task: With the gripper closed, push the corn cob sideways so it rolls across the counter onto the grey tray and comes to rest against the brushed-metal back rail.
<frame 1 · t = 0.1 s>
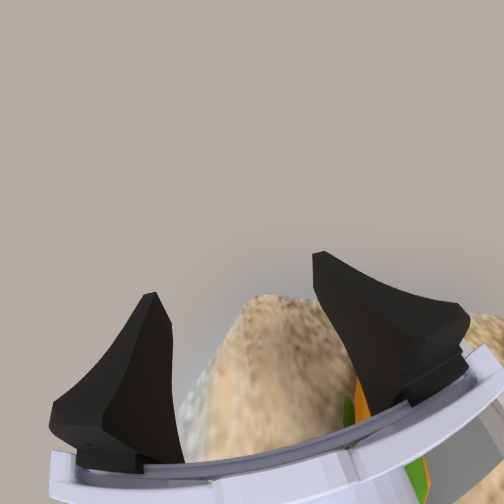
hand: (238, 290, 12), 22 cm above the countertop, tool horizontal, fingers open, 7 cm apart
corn: (376, 450, 19), on the countertop, touching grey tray
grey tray: (436, 417, 20), on the countertop
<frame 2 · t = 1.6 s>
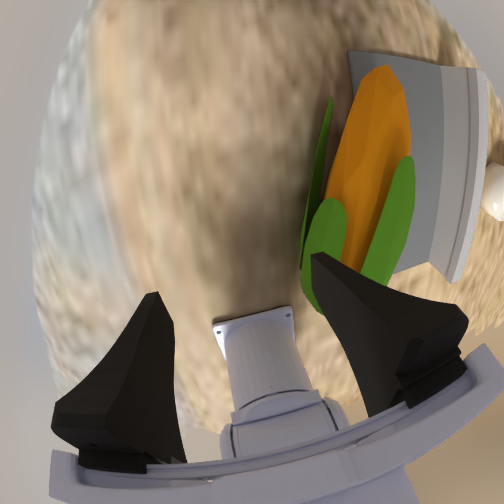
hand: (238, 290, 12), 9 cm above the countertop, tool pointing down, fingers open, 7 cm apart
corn: (338, 186, 21), on the countertop, touching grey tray
white glossy round part: (489, 186, 24), on the countertop
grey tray: (410, 174, 21), on the countertop
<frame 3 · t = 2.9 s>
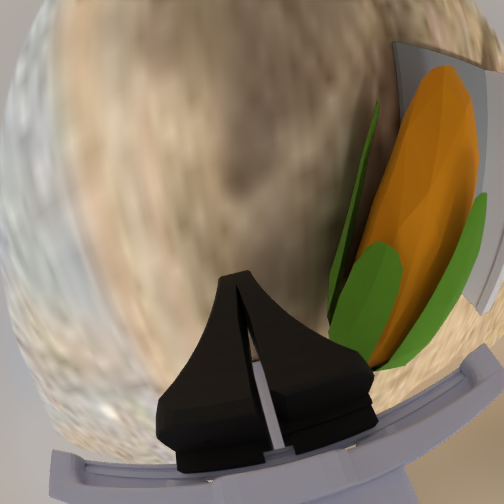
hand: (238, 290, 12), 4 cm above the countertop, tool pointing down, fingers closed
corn: (375, 213, 16), on the countertop, touching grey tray
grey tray: (451, 196, 17), on the countertop
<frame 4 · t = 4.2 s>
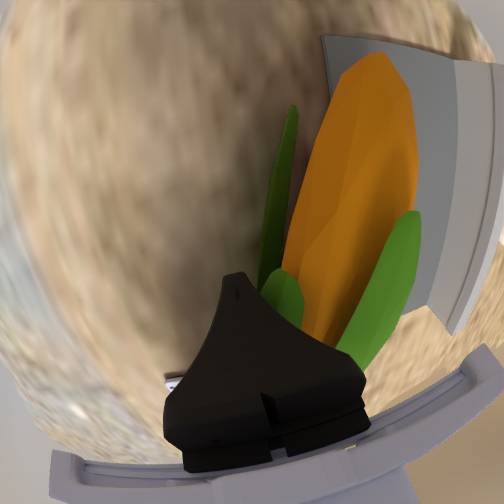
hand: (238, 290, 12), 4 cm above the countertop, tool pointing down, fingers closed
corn: (309, 229, 16), on the countertop, touching gripper
white glossy round part: (503, 210, 19), on the countertop
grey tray: (410, 206, 16), on the countertop
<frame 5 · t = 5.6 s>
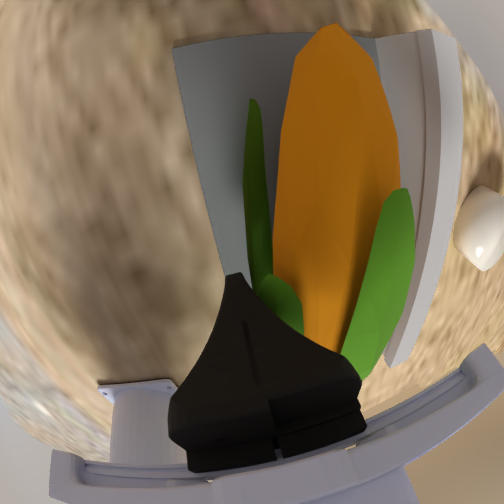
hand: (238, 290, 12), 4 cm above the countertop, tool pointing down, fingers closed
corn: (296, 223, 15), resting on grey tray, touching gripper
white glossy round part: (473, 219, 19), on the countertop
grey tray: (318, 226, 16), on the countertop
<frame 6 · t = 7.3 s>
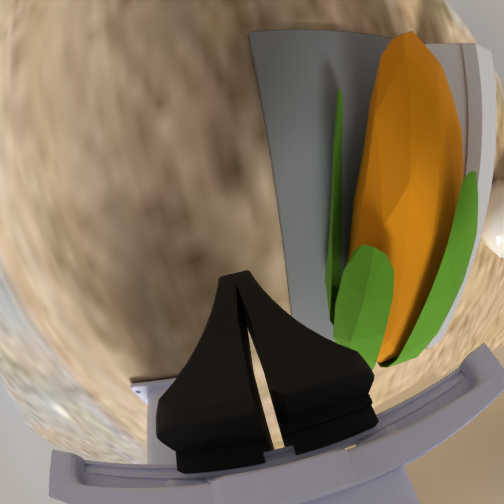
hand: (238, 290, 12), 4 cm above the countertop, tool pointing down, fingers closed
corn: (362, 205, 15), resting on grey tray
white glossy round part: (492, 210, 19), on the countertop
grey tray: (370, 212, 16), on the countertop
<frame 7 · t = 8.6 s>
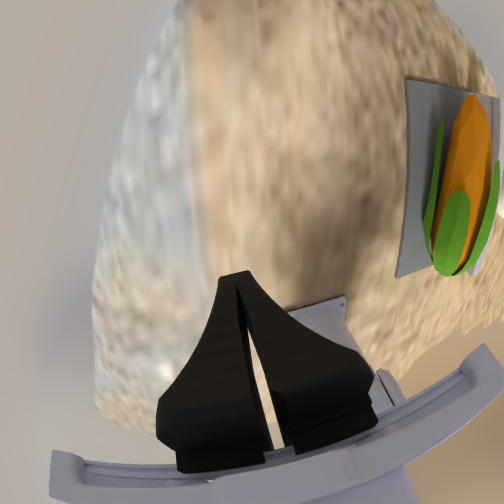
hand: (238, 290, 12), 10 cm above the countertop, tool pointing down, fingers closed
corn: (439, 178, 23), resting on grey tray
white glossy round part: (500, 192, 27), on the countertop
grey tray: (442, 183, 24), on the countertop
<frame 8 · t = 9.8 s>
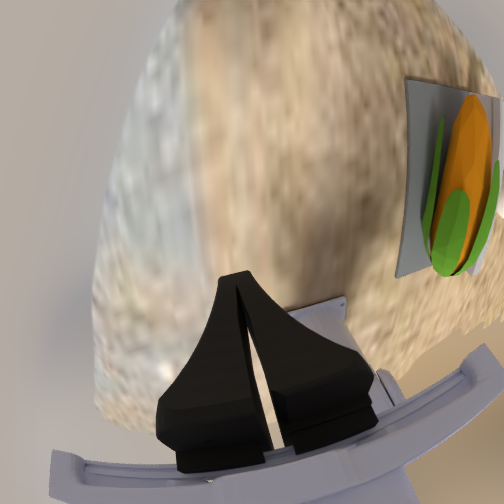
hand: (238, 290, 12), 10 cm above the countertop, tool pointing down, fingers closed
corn: (439, 178, 23), resting on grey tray
white glossy round part: (500, 192, 27), on the countertop
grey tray: (442, 183, 24), on the countertop
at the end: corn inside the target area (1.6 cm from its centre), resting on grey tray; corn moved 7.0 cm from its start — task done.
